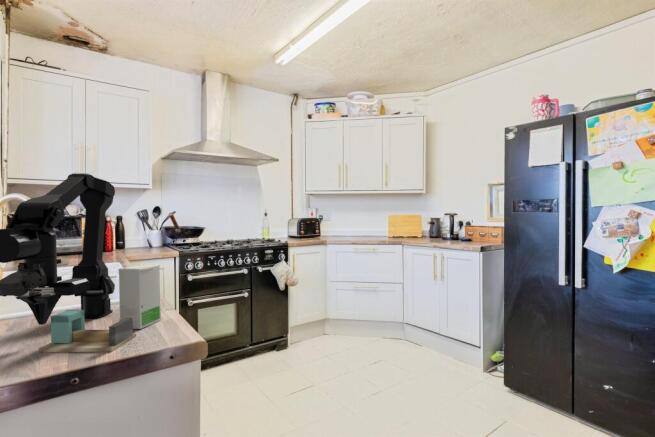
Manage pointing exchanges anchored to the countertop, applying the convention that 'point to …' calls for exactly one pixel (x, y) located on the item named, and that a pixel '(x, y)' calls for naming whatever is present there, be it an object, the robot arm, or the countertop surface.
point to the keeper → (66, 325)
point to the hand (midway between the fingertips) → (42, 324)
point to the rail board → (82, 346)
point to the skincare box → (140, 294)
